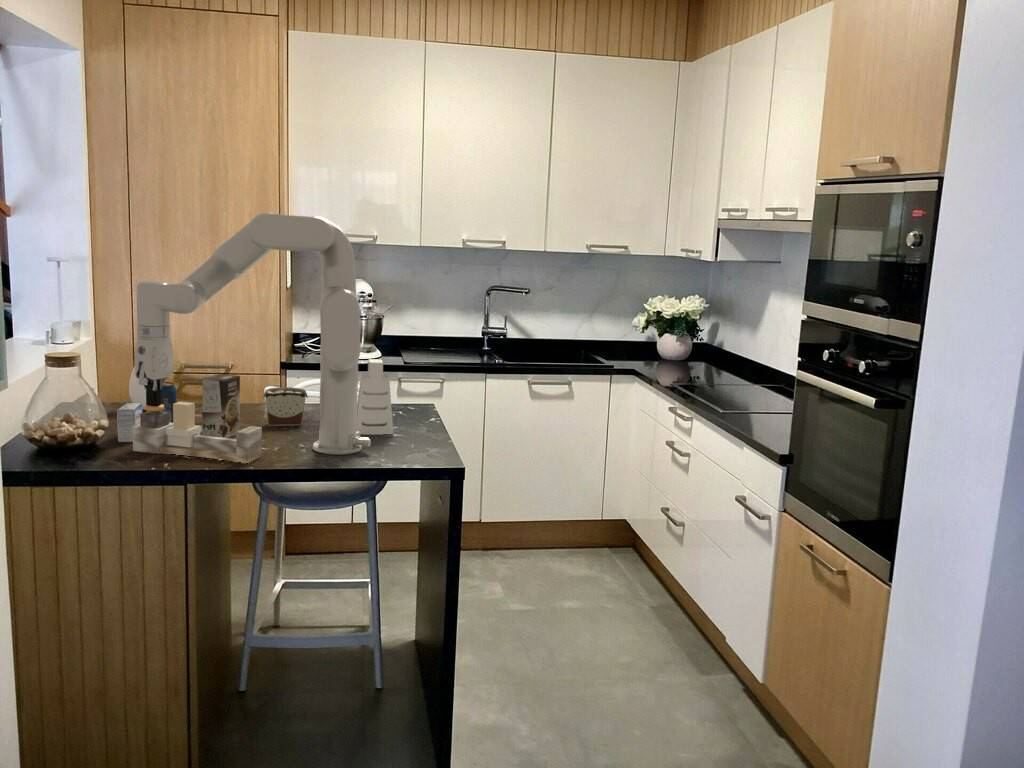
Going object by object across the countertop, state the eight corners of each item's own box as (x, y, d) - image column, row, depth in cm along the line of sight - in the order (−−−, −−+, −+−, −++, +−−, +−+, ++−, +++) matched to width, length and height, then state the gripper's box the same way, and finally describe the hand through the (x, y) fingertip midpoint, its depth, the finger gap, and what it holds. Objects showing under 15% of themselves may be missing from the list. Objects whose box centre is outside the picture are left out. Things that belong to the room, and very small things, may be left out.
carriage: (201, 442, 228) (201, 402, 227) (188, 448, 223) (188, 406, 221) (180, 440, 230) (179, 400, 228) (166, 445, 224) (165, 404, 222)
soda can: (164, 422, 255) (163, 380, 253) (182, 426, 252) (182, 383, 250) (144, 427, 249) (143, 383, 247) (163, 430, 246) (162, 387, 244)
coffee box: (223, 441, 239) (223, 380, 236) (201, 438, 240) (201, 378, 237) (240, 433, 248) (241, 375, 245) (219, 431, 249) (219, 373, 246)
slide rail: (262, 456, 227) (262, 420, 225) (246, 464, 219) (247, 427, 217) (152, 443, 233) (151, 408, 231) (132, 450, 225) (132, 415, 223)
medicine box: (135, 442, 233) (135, 409, 231) (117, 442, 232) (116, 409, 230) (143, 435, 240) (142, 403, 239) (125, 435, 239) (124, 402, 238)
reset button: (167, 419, 228) (167, 404, 228) (157, 423, 224) (157, 408, 224) (152, 417, 229) (151, 403, 229) (141, 421, 225) (141, 406, 224)
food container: (305, 420, 267) (305, 386, 266) (307, 425, 262) (307, 390, 260) (261, 420, 264) (261, 386, 262) (262, 425, 258) (263, 391, 256)
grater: (355, 434, 254) (357, 363, 251) (354, 425, 264) (356, 357, 261) (393, 434, 257) (395, 364, 253) (390, 425, 267) (392, 358, 263)
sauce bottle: (162, 410, 269) (162, 350, 266) (136, 413, 263) (135, 352, 260) (150, 405, 274) (149, 346, 271) (124, 408, 269) (123, 348, 265)
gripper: (149, 336, 215) (149, 412, 218) (184, 330, 229) (184, 401, 233) (120, 333, 216) (121, 409, 220) (157, 327, 231) (157, 398, 234)
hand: (153, 405), depth 226 cm, fingers closed
